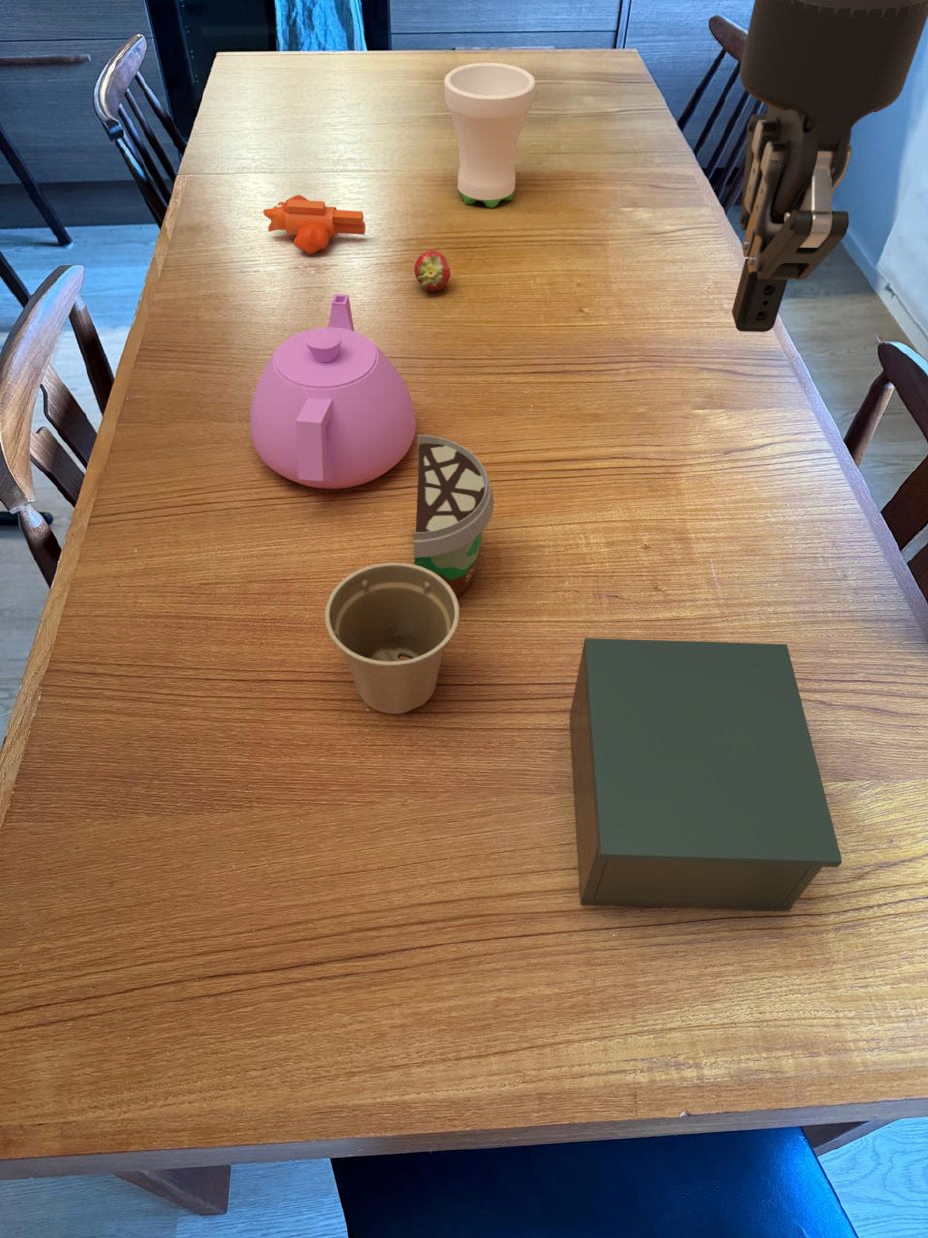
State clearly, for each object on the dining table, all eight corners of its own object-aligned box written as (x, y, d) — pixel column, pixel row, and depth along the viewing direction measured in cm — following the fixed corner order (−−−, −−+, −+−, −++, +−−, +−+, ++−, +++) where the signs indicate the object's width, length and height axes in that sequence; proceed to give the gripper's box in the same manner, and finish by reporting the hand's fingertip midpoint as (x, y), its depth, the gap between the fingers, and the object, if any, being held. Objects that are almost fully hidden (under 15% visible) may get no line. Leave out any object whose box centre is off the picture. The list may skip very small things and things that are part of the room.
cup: (544, 197, 120) (554, 81, 109) (484, 224, 115) (488, 105, 104) (487, 168, 125) (491, 54, 114) (427, 193, 120) (425, 76, 109)
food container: (491, 625, 73) (497, 539, 65) (416, 624, 73) (413, 538, 65) (488, 519, 81) (492, 431, 73) (420, 518, 81) (417, 430, 73)
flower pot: (449, 628, 73) (450, 555, 66) (466, 726, 67) (468, 656, 60) (333, 640, 72) (321, 567, 65) (339, 740, 66) (328, 671, 59)
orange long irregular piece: (364, 189, 108) (266, 184, 109) (355, 238, 106) (255, 232, 106) (368, 221, 113) (275, 216, 114) (361, 268, 110) (265, 262, 111)
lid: (838, 868, 51) (842, 862, 50) (598, 860, 51) (600, 854, 50) (783, 650, 61) (787, 643, 60) (583, 644, 61) (584, 637, 60)
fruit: (453, 274, 107) (454, 234, 103) (447, 301, 104) (448, 260, 100) (418, 271, 108) (417, 231, 104) (411, 299, 104) (410, 258, 100)
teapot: (407, 527, 80) (402, 418, 71) (234, 520, 80) (206, 411, 71) (424, 378, 94) (421, 271, 85) (276, 373, 94) (257, 266, 85)
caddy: (788, 911, 58) (834, 853, 52) (580, 905, 58) (597, 845, 52) (749, 721, 68) (783, 651, 61) (569, 716, 68) (583, 645, 61)
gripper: (987, 25, 35) (842, 394, 48) (893, -69, 43) (792, 267, 57) (794, 23, 35) (702, 391, 48) (738, -71, 44) (673, 265, 57)
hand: (750, 324), depth 53 cm, fingers closed
